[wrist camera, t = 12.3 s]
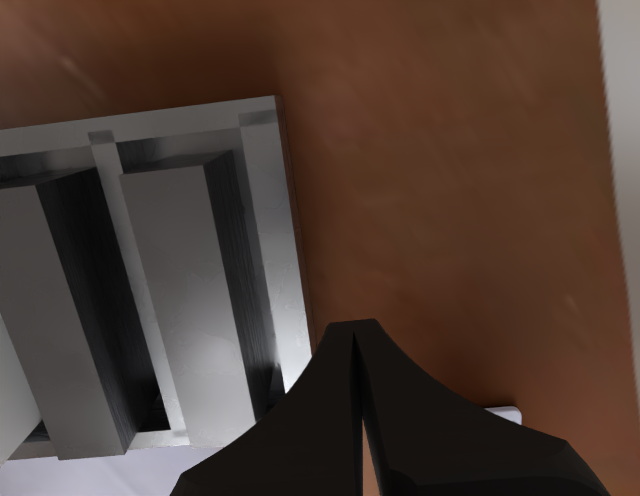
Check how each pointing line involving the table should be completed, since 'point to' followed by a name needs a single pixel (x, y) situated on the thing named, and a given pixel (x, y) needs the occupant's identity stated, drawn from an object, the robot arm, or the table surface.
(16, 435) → the white rectangular block
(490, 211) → the table surface
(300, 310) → the rack
